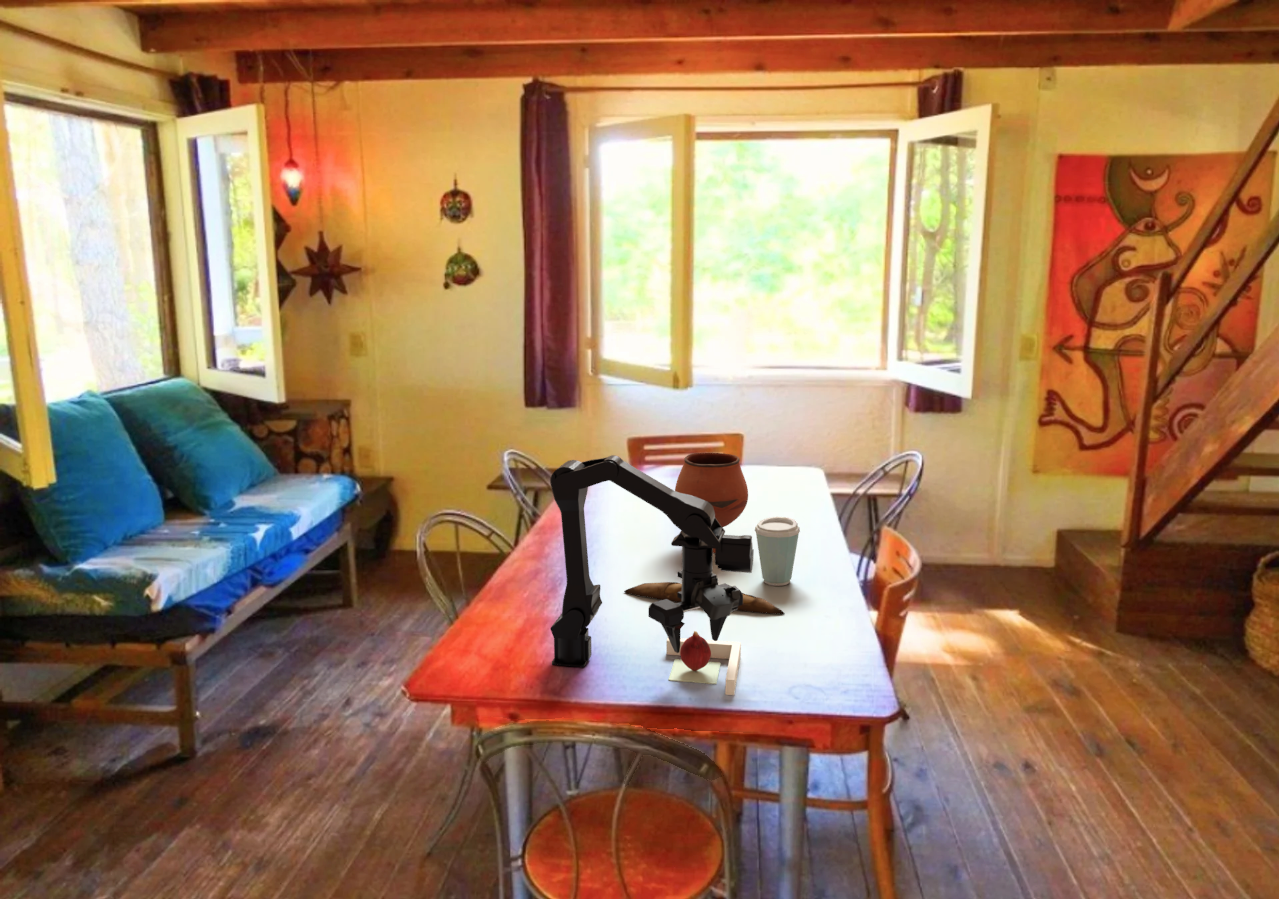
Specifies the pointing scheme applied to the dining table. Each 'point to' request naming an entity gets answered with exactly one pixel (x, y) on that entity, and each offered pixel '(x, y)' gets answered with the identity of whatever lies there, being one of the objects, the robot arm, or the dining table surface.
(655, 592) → the bread
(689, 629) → the dining table surface
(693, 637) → the onion
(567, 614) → the robot arm
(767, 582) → the disposable coffee cup
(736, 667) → the arena
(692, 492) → the goblet
